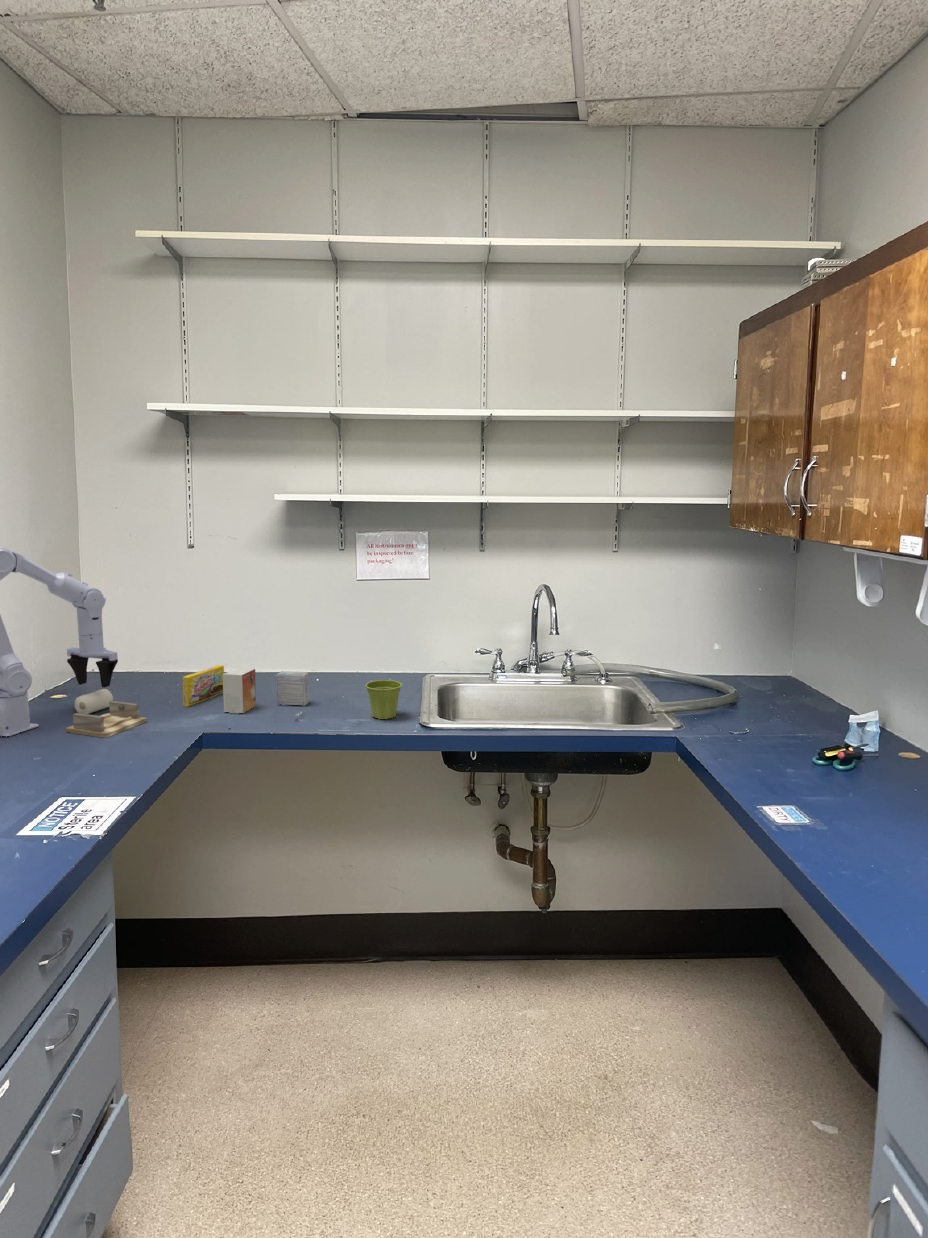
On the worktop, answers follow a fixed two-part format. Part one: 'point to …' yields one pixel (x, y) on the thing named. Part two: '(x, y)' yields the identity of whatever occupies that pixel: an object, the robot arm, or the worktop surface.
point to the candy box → (202, 685)
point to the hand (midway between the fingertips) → (94, 685)
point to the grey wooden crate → (292, 688)
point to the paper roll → (93, 701)
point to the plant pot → (383, 698)
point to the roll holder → (107, 720)
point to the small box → (239, 690)
